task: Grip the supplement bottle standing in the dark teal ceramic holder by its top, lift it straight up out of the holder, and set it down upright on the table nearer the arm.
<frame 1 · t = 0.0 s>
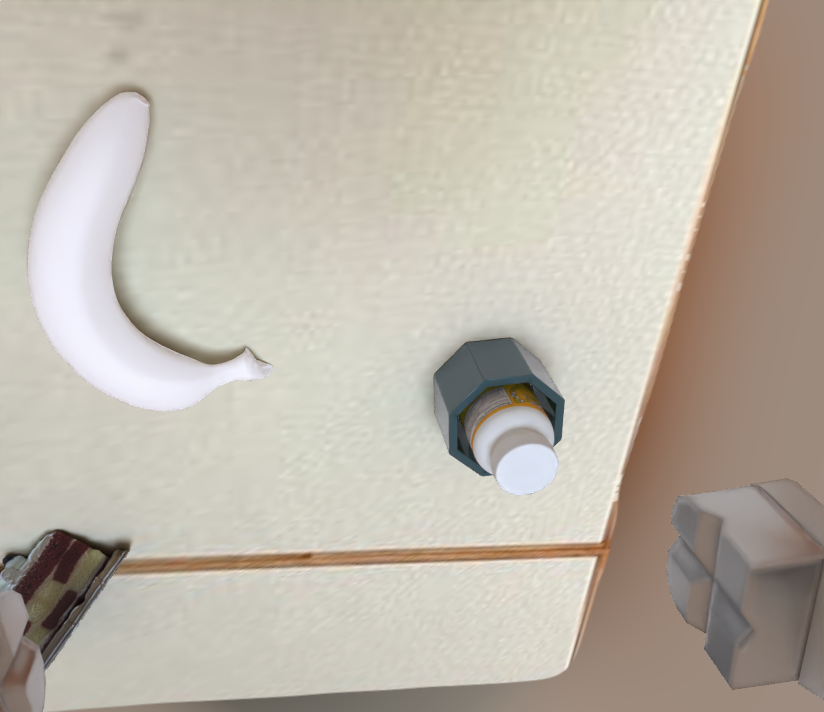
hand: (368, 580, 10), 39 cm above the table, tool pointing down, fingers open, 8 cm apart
banana: (170, 256, 48), on the table
chocolate cake: (49, 574, 58), on the table
holder: (487, 387, 56), on the table
supplement bottle: (487, 386, 56), resting in holder
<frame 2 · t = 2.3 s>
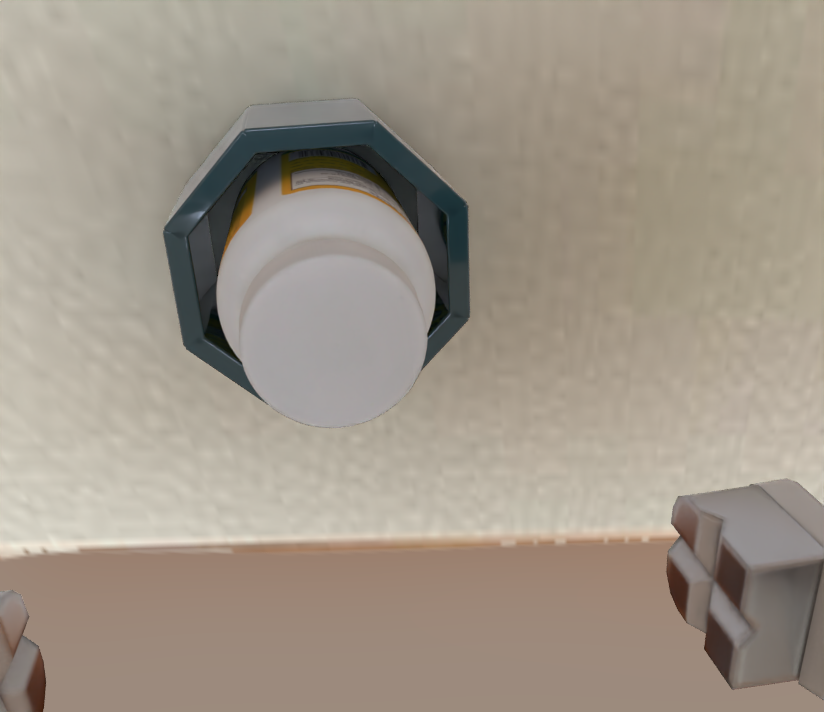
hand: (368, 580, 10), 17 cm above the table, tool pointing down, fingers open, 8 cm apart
holder: (315, 228, 25), on the table
supplement bottle: (315, 226, 25), resting in holder
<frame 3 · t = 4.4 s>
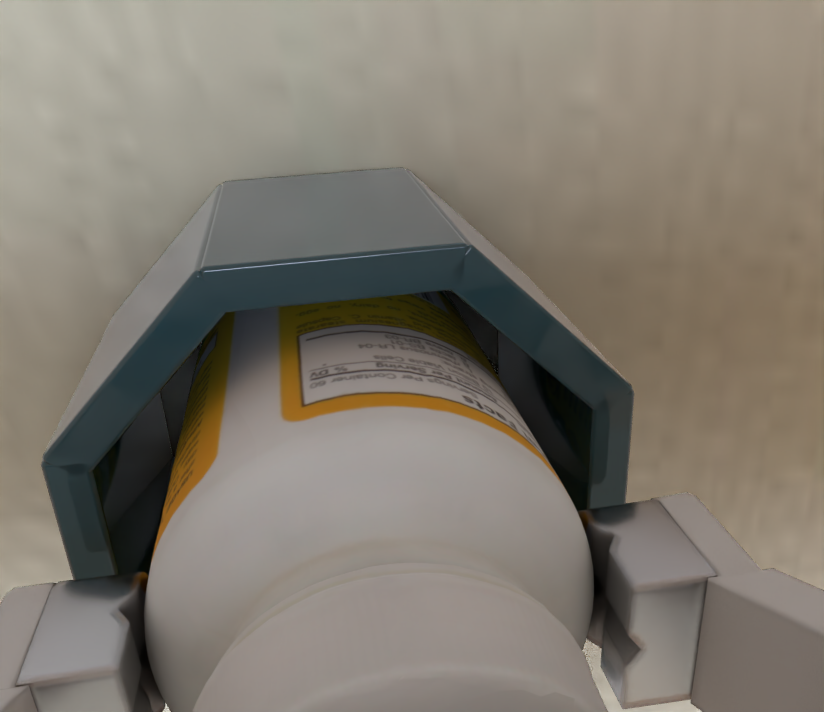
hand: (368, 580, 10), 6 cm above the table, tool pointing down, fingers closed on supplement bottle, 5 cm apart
holder: (334, 373, 15), on the table
supplement bottle: (334, 369, 16), resting in holder, touching gripper
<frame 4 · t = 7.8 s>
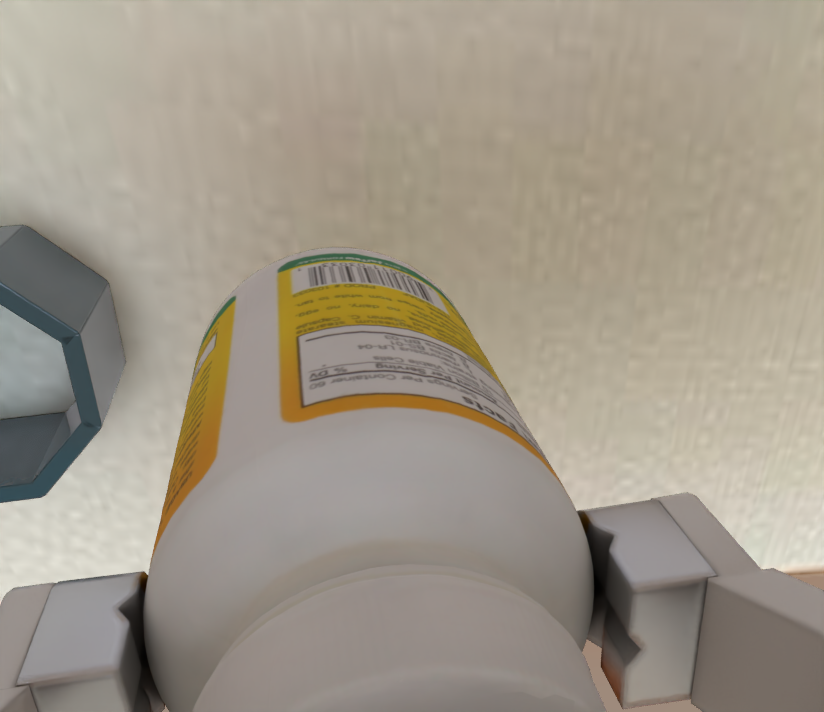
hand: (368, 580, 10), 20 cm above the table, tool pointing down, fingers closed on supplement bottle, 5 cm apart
holder: (5, 334, 28), on the table
supplement bottle: (333, 370, 16), point 14 cm above the table, touching gripper
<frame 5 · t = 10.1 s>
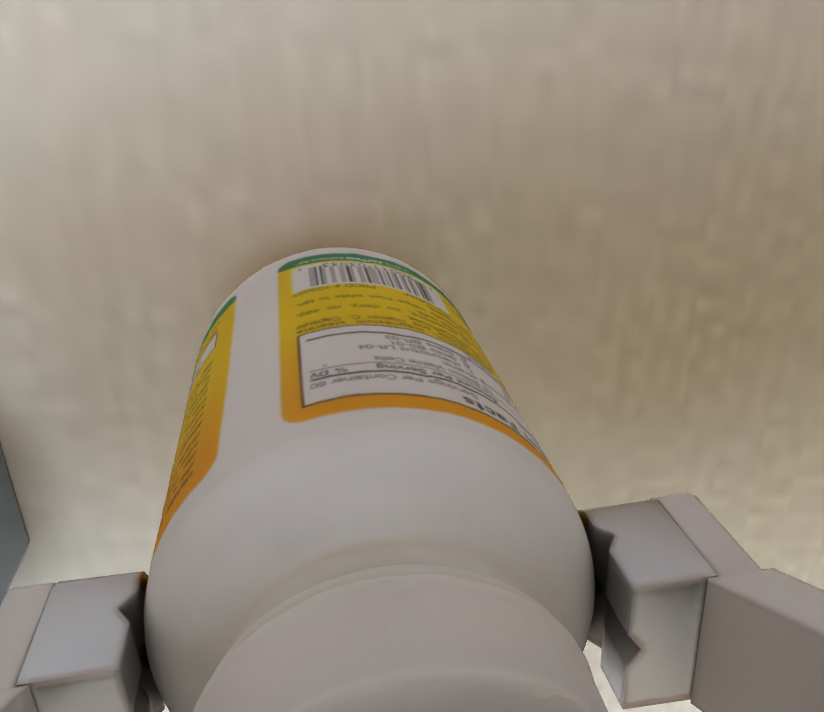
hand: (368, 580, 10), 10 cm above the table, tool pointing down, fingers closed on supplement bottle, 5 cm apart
supplement bottle: (334, 370, 16), point 4 cm above the table, touching gripper
when the fingers open (6 cm above the table, at t = 11.6 s): supplement bottle stays where it is, on the table.
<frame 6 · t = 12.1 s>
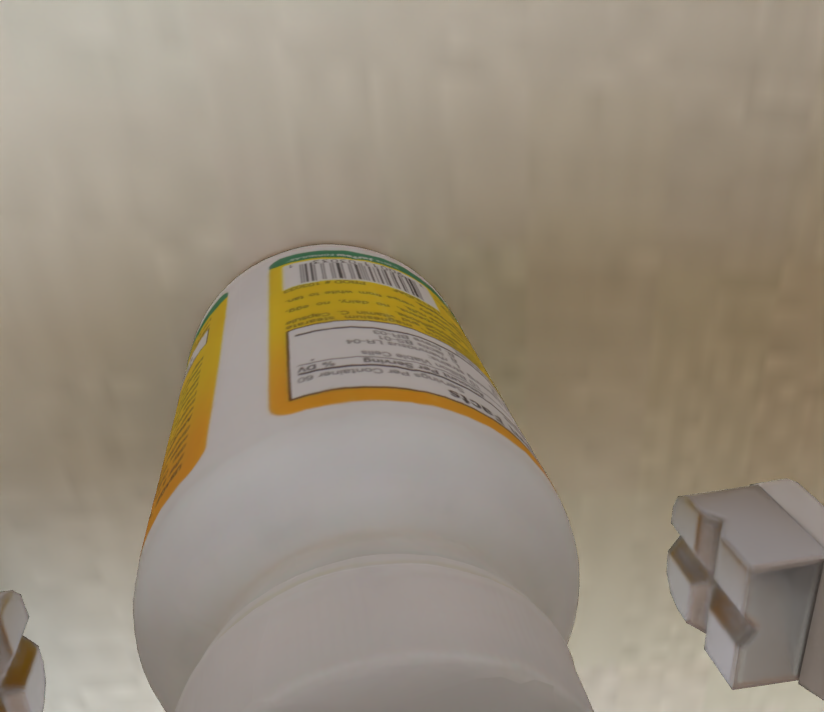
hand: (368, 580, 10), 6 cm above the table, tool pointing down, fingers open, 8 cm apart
supplement bottle: (326, 366, 16), on the table
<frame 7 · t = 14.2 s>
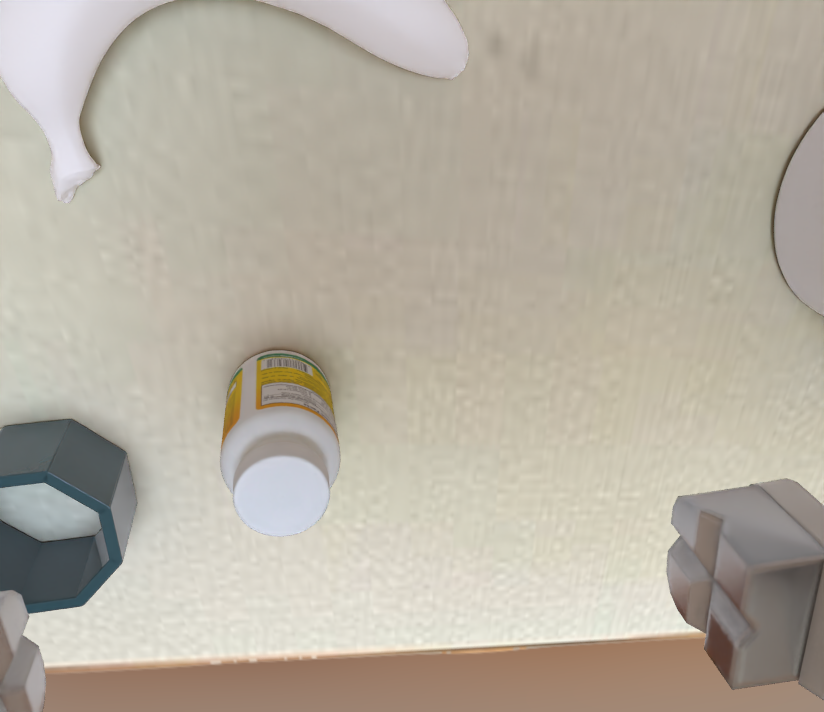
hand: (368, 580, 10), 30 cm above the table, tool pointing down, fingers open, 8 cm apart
banana: (241, 70, 35), on the table
holder: (55, 487, 41), on the table
supplement bottle: (278, 392, 41), on the table
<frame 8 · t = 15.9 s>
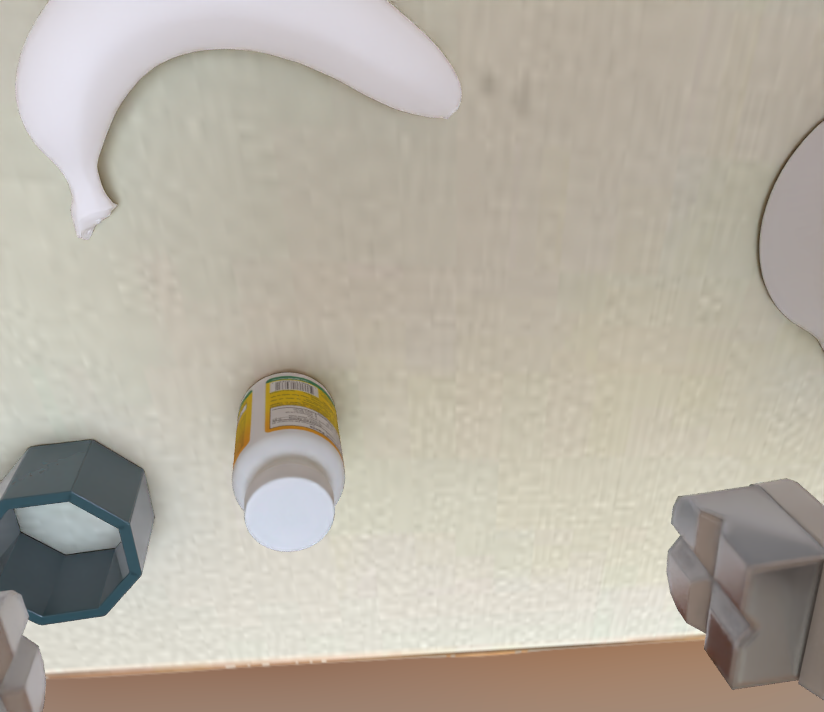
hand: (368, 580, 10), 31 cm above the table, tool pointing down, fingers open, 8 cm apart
banana: (248, 113, 37), on the table
holder: (77, 503, 43), on the table
supplement bottle: (286, 412, 44), on the table
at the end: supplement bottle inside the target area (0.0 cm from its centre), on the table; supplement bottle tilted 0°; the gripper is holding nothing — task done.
